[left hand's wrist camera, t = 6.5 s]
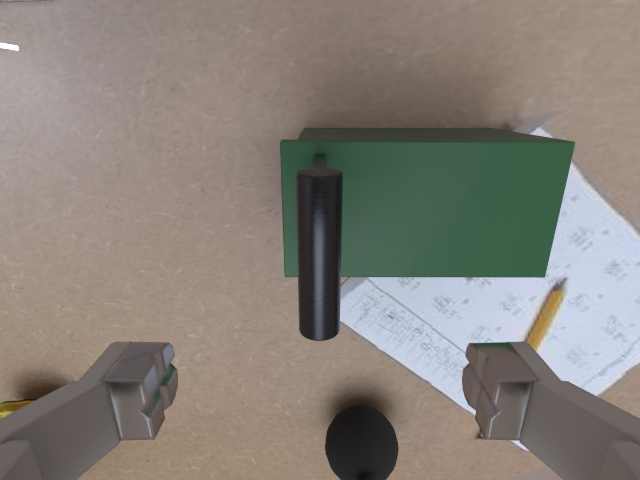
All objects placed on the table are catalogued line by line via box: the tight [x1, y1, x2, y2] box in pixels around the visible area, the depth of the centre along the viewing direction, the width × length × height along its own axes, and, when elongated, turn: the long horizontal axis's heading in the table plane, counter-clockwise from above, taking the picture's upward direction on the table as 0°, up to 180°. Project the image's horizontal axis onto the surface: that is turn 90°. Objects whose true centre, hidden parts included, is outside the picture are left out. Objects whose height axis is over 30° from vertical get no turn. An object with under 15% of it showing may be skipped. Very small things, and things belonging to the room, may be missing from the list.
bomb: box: [325, 406, 398, 480], centre depth 40 cm, size 8×8×12 cm
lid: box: [280, 140, 575, 341], centre depth 21 cm, size 18×9×9 cm, turn 90°
